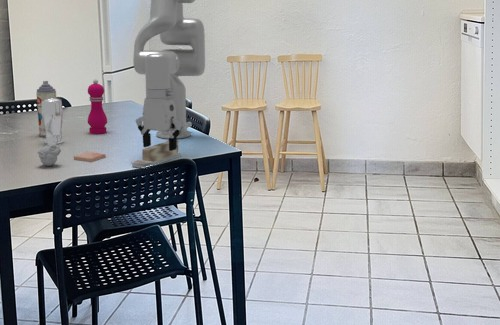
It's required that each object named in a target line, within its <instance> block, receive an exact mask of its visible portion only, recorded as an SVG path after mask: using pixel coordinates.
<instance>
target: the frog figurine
mask: <svg viewBox="0 0 500 325" xmlns="http://www.w3.org/2000/svg"><path fill="white" fill-rule="evenodd" d="M61 150H62V147H61V146H60V145H59V144H55V143H48V144H46V145H44V146H43V147H41V148H40V149H39V150H37V155H38V158H39V160H40V163H41V164H42V165H44V166H48V167H51V166H54V165H55V164H56V163H57V161H58V156H59V155H60V153H61V152H62V151H61Z"/></svg>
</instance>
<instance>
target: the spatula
mask: <svg viewBox="0 0 500 325" xmlns="http://www.w3.org/2000/svg"><path fill="white" fill-rule="evenodd" d="M141 151H142V152H141V153H142V155H141V156H142V159H137V160H134V161H132V162H131V163H130V164H131V165H139V166H147V165H150V164H153V162H154V161H156V160H159V159H162V158H165V157H167V156H170V155H173V154H176V153H180V151H179V140H178V139H177V147H176V149H175V150H172V151H170V150H169V140H167V141H163V142H161V143H157V144H154V145H151V146H148V147H144V148H143V149H141Z"/></svg>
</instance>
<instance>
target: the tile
mask: <svg viewBox="0 0 500 325" xmlns="http://www.w3.org/2000/svg"><path fill="white" fill-rule="evenodd" d="M105 158H106V153H101V152H99V153H98V152H92V151H87V152H82V153H80V154H76V155H74V156H73V160H74V161H81V162H88V163H93V162H97V161H99V160H102V159H105Z"/></svg>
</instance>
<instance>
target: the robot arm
mask: <svg viewBox="0 0 500 325" xmlns="http://www.w3.org/2000/svg"><path fill="white" fill-rule="evenodd" d="M195 1H196V0H150V13H149V21H147V23H145V24H144V25H143V26H142V28H140V30H139V31H138V33H137V35H136V37H135V40H134V45H133V58H132V59H133V69H134V71H135V72H136V73H137V74H138V75H144V76H145V98H144V102H143V108H142V116H140V117H138V118H137V119H135V124H136V126H137V129H138V130H139V131H140V134H141V135H142V143H143V148H148V147H151V146H152V140H151V139H152V137H151V136H152V135H151V133H150V132H151V131H157V132H156V133H155V136H156V137H157V138H161V139H168V141H169V150H170V151H172V150H175V149H176V147H177V140H178V139H185V138H189V137H191V131H189V130H188V128H190V127H192V125H193V124H192V122H191V121H187V103H186V102H187V95H186V94H187V92H186V86H185V84H184V83H183V81H182V80H181V79H180V78H179V77H199V76H202V75H203V74H204V73H205V69H206V40H205V26H204V24H203V22H202V20H201V19H199V18H194V17H193V18H192V17H189V18H188V17H186V18H185V17H184V5H183V4H193V3H194V2H195ZM158 35H159V39H160V42H161V43H162V44H163V45H166V46H189V47H191V49H188V48H186V49H182V48H166V49H162V50H144V48H145V46H146V44H147V43H148V42H149V41H150V40H151V39H152V38H154V37H156V36H158Z"/></svg>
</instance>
